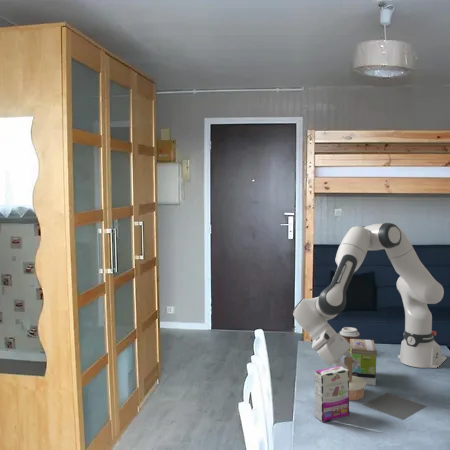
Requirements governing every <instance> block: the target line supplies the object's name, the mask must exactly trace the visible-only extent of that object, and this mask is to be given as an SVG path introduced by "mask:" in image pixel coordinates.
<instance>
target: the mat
mask: <svg viewBox="0 0 450 450" xmlns="http://www.w3.org/2000/svg"><path fill="white" fill-rule="evenodd" d="M362 405H363V406H364V407H367V408H370V409H373V410H376V411H378V412H380V413H383V414H387V415H389V416H392V417H394V418H397V419H399V420H402V421H404V420H406V419H407V418H409V417H411V416H413V415H414V414H416V413H418V412H420V411H421V410H423V409H425V408H427V407H428V406H427V405H424V404H422V403H419V402H416V401H412V400H410V399H407V398H403V397H401V396H398V395H395V394H393V393H389V392H385V393H383V394H381V395H379V396H377V397H375V398H373V399H371V400H368V401H366V402H364V403H362Z"/></svg>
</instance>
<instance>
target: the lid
mask: <svg viewBox="0 0 450 450" xmlns="http://www.w3.org/2000/svg"><path fill="white" fill-rule="evenodd" d="M343 360H344V361H343V364H344V365H345V364H346V366H347V367H348V370H349V391H356V390H361V389H364V390H365V388H366V386H367V385H366V381H365V380H364V379H362V378H360V377H357V376H352V357H347V356H344V359H343Z"/></svg>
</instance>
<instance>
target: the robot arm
mask: <svg viewBox="0 0 450 450" xmlns="http://www.w3.org/2000/svg"><path fill="white" fill-rule="evenodd" d="M380 250H385V253H386V255H387V257H388V260H389V261H390V263H391V265H392V266H393V268H394V271H395V272H396V273H397V274H398V275H399V277H398V278H397V281H396V290H397V291H398V293H399V294H400V296H401V299H402V300H401V301H402V304H403V309H404V316H405V317H404V330H403V340H402V341H401V343H400V354H397V359H399V360H400V363H402V364H404V365H407V366H410V367H412V368H422V369H423V368H425V369H426V368H431V369H432V368H433V369H438V368H440V367H441V366H442V365H443V364H444V363H445V362H446V361H447V360H448V359H447V358H448V357H447V356H445V355H443V354H442V347H441V346H440V344H438V343H437V342H436V341H435V338H434V337H436V336H437V331H434V330H432V329H433V316H432V315H433V314H432V312H431V311H430V309H429V307H428V304H429V305H436V304H438V303H440V302H441V301H442V300H443V298H444V293H445V291H444V287H443V285H442V284H441V283H440V282H439V281H437V280H436V279H435V277H434V276H432V274H431V273H430V271H429V270H428V269H427V268H426V267H425V265H424V264H423V263H422V262H421V260H420V258H419V256H418V255H417V252H416V251H415V249H414V247H413V244H412V243H411V241H410V239H409V238H408V237H407V235H406V233H404V231H403V230H402V229H401V228H399V226H398V225H396V224H394V223H391V222H383V223H372V224H370V225H365V226H364V225H363V226H358V225H356V226H352V227H351V228H349V230H348V231H347V233H346V234H345V235H344V237H343V239H342V240H341V242H340V245H339V246H338V249H337V251H336V255H335V260H334V261H335V263H336V265H337V268H336V271H335V273H334V275H333V278H332V280H331V283H330V284H329V285H328V286H326V288H324V289H323V290H322V291H321V292H320V293H319V296H317V297H316V296H315V297H313V298H312V297H311V298H302V299H301V300H300V301H298V303H297V304H296V306H295V307H294V308H293V310H292V315H293V318H294V319H295V321H296V322H297V324H298V325H299V326H300V327H301V328H302V330H304V331H305V332H306V333H307V335H309V336H308V337H309V338H310V339H311V341H312V345H311V348H312V350H313V351H314V352H317V354H318V355H319V357H320V358H321V359H322V360H323V362H324V363H325V364H327V365H328V366H330V367H331V366H333V365H334V364H335V365H336V366H335V367H338V366H342V367H344V368H346V369H348V367H347V366H346V364H345V365H344V362H342V360H341V358H342V357H343V356H344V355H345V356H344V357H346V356H347V357H352V355H351V353H350V351H349V349H350V348H351V346H350V344H349V343H348V342H347V341H346V339H345V338H344V337H343V336H341V335H340V332H336V331H335V329H334V328H333V327H332V325H330V323H329V322H328V321H330V320H332V319H335V318H336V316H338V315H339V314H341V313H342V312H343V311H344V309H345V308H346V305H347V290H348V288H349V285H350V284H351V283H350V282H351V280H352V278H353V275H354V273H356V272H357V271H358V269H359V268H360V267H361V265H362V264H363V262H364V260H365V258H366V256H367V253H368V251H380ZM446 359H447V360H446ZM445 360H446V361H445ZM354 361H355V359H354V358H353V357H352V363H353V362H354ZM444 361H445V362H444ZM443 362H444V363H443ZM442 363H443V364H442ZM441 364H442V365H441ZM440 365H441V366H440ZM439 366H440V367H439ZM437 367H438V368H437Z"/></svg>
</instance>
